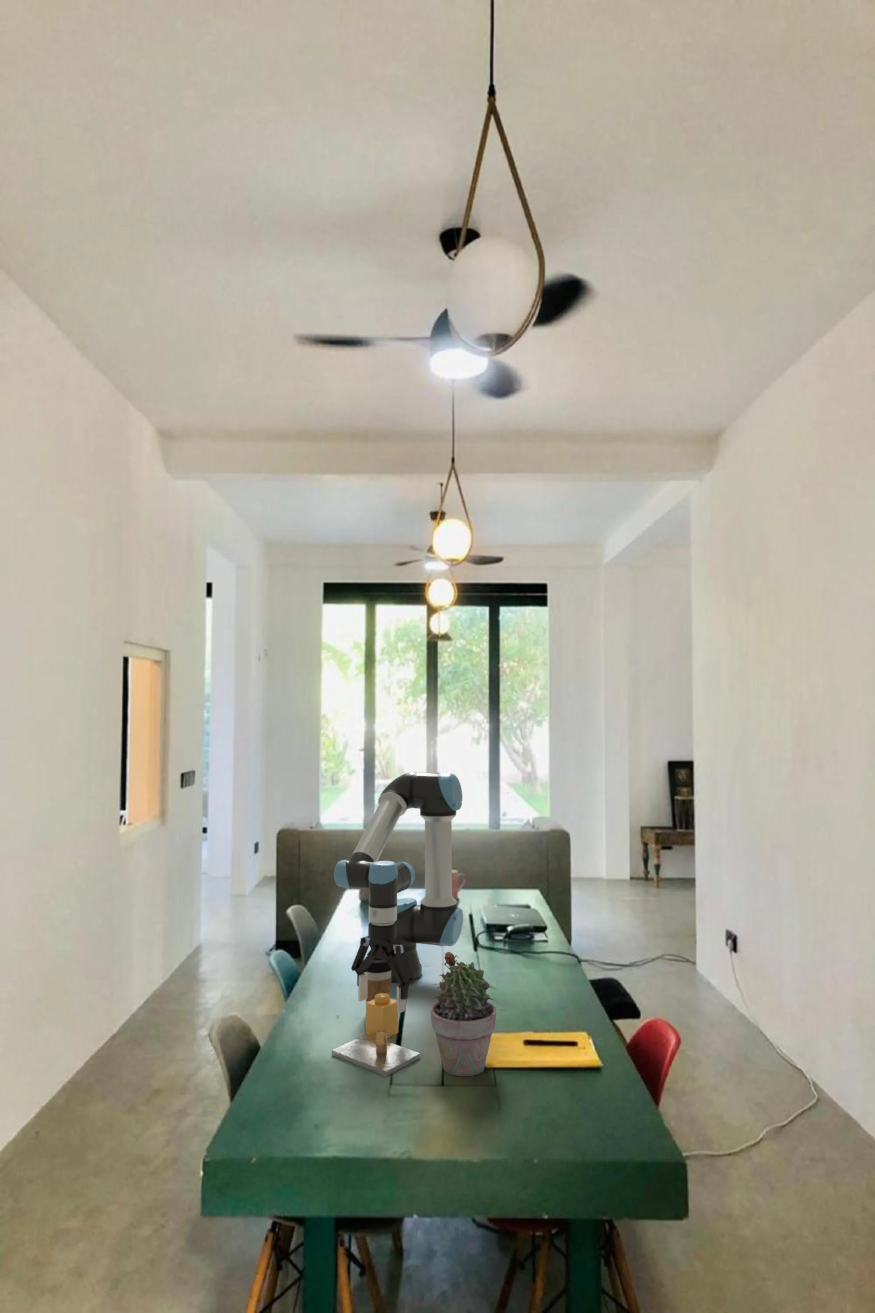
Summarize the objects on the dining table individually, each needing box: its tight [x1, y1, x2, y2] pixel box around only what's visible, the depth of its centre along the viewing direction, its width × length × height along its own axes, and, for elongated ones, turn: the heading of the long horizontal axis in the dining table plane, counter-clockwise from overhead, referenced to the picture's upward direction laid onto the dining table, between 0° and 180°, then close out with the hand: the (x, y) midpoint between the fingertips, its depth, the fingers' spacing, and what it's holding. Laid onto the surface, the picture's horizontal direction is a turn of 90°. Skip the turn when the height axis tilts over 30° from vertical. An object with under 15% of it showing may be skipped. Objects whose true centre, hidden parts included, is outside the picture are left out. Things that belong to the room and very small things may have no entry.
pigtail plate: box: [331, 1030, 421, 1078], centre depth 184 cm, size 18×12×6 cm, turn 51°
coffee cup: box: [364, 958, 392, 1002], centre depth 211 cm, size 8×8×15 cm
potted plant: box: [424, 951, 506, 1077], centre depth 179 cm, size 18×20×25 cm
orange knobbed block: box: [365, 993, 399, 1039], centre depth 197 cm, size 6×6×10 cm
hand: (381, 1005), depth 197 cm, fingers open, 13 cm apart
